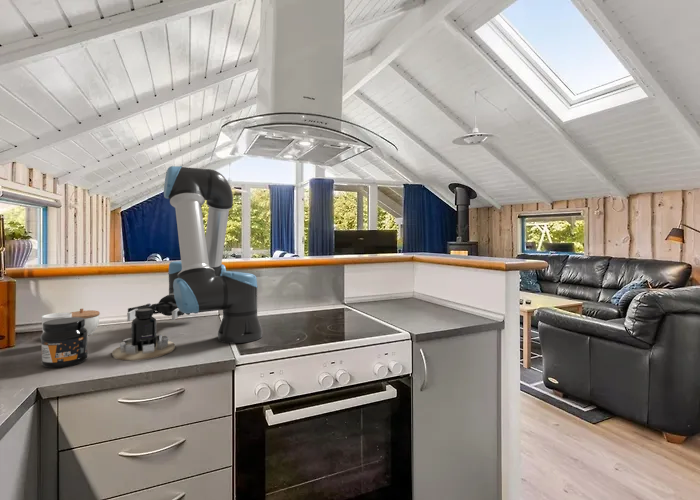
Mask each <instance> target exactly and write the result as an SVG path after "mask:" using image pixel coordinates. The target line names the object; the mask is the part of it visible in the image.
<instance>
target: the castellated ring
mask: <svg viewBox="0 0 700 500" xmlns="http://www.w3.org/2000/svg"><path fill="white" fill-rule="evenodd" d="M168 337H169V336H167V335H162V334H156V343H157V350H163V349H165V348H167V346H168V341H169V338H168ZM121 341H122V342H119V347H120V351H121V353H126V354H128V355H136V354H138V345H132V337H128V338H126V339H122V340H121ZM153 352H154V343H151V344H145V345H142V353H143V354H147V353H153Z"/></svg>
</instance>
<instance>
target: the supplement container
mask: <svg viewBox="0 0 700 500" xmlns="http://www.w3.org/2000/svg"><path fill="white" fill-rule="evenodd" d="M84 326H85V319H84V318H81V317H69V318H59V319H53V320H49V321H46V322H44V323H43V330H44V332H43V330H42V333H41V335H40V342H41V365H42V366H43V367H45V368H49V369H58V368H59V369H61V368H66V367H67V368H68V367H72V366H75V365H78V364H82V363H83V362H84V361H86V360H87V358H88V357H89V353H88V335H87V329H86V328H85V327H84Z"/></svg>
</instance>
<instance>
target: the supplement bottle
mask: <svg viewBox="0 0 700 500" xmlns="http://www.w3.org/2000/svg"><path fill="white" fill-rule="evenodd" d="M135 317H136V318H135V319H133V320H131V329H130V330H131V338H132V345H138V351H142V345H145V344H151V343H154V348H155V347H156V335H157V319H156V318H155V317H154V314H153V309H149V308H146V309H138V310H135Z"/></svg>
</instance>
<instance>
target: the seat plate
mask: <svg viewBox="0 0 700 500" xmlns="http://www.w3.org/2000/svg"><path fill="white" fill-rule="evenodd" d="M175 349H176V345H175V342H173V341H170V340H168V346H167V348H165V349H163V350H157V343H156V347H155V348H154V352H153V353H147V354H143V353H142V351H138V354H136V355H128V354H126V353H121V351H120V346H118V347H117V348H115V349H114V350H112V358H113V359H115V360H118V361H142V360H149V359H153V358H159V357H162V356H165V355H168V354H170V353H172V352H174V350H175Z"/></svg>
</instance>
